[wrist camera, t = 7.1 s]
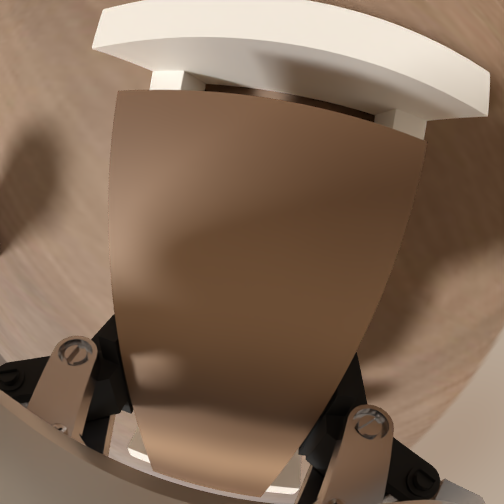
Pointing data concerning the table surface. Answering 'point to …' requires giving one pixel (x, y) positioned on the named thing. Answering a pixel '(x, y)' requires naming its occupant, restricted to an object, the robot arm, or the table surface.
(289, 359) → the plank
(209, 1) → the frame
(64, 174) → the table surface
